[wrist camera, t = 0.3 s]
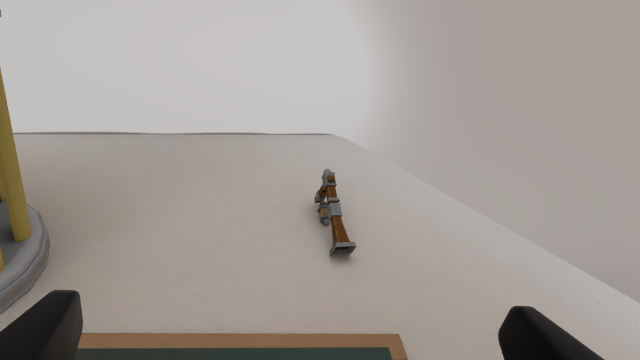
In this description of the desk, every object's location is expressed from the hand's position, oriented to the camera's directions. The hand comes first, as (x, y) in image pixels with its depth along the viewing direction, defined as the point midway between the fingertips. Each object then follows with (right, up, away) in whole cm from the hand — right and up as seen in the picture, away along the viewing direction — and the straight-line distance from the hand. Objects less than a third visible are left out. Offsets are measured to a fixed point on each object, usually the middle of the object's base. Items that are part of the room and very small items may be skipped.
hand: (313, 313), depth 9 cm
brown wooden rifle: (+1, -2, +31) cm, 31 cm away
